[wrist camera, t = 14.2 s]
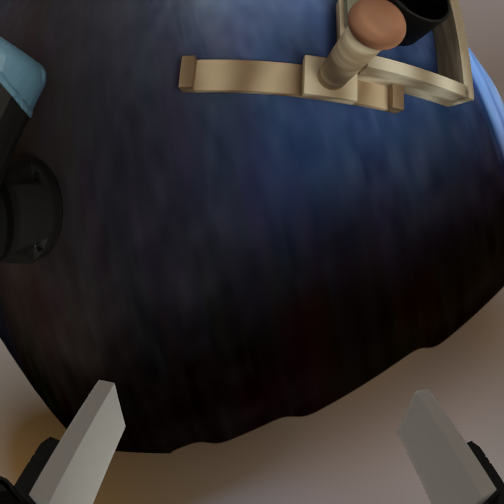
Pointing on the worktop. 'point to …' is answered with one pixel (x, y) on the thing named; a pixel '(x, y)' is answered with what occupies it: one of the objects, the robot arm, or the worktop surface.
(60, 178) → the worktop surface
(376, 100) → the rail
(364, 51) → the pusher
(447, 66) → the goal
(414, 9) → the mug
